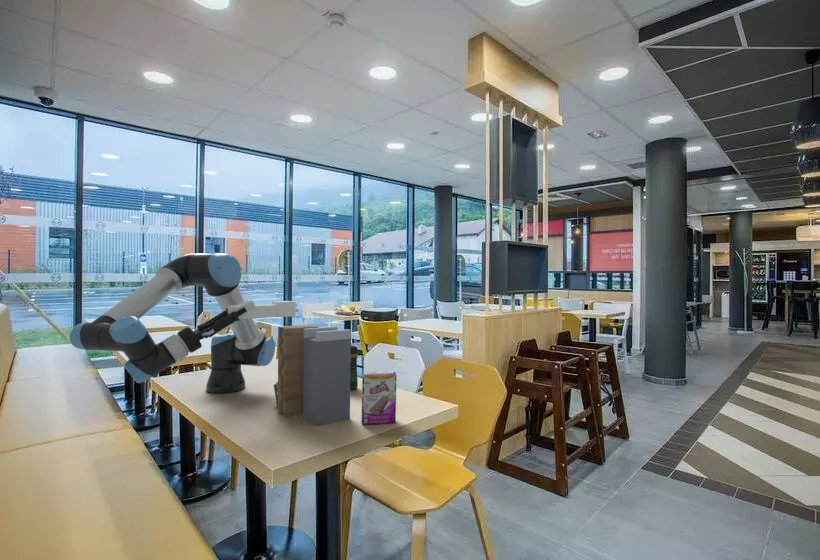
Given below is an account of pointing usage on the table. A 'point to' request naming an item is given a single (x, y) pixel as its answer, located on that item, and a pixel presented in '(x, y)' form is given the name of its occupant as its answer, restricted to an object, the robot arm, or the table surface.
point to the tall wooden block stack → (291, 368)
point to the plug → (269, 310)
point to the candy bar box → (378, 397)
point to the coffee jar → (353, 367)
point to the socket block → (326, 375)
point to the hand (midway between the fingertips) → (251, 303)
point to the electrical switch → (276, 391)
